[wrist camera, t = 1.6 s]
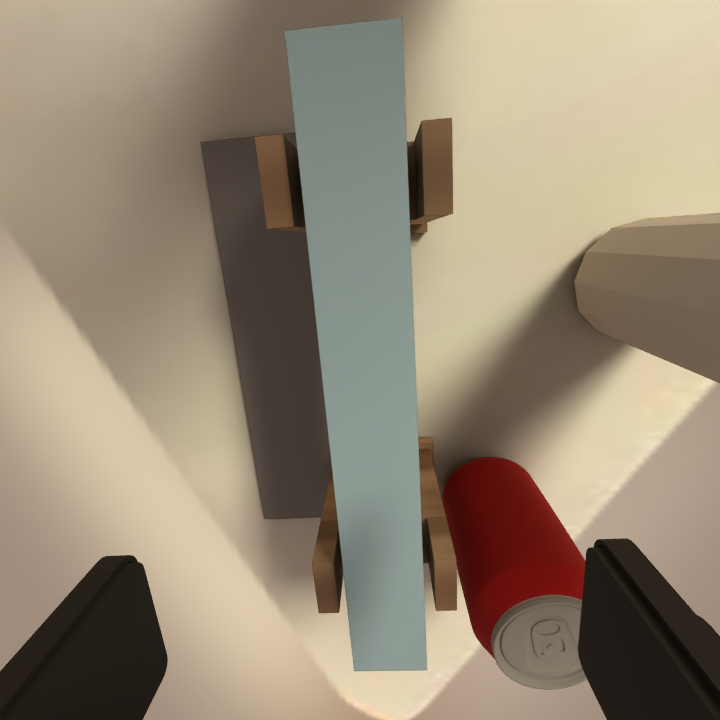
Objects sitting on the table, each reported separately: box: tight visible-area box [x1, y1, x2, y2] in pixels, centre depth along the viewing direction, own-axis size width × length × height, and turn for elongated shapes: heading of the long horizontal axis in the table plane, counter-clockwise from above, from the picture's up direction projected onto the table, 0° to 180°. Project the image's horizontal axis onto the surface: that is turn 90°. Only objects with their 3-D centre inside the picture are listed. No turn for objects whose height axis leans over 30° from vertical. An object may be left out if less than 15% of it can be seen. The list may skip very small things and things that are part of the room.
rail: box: [285, 18, 427, 671], centre depth 18 cm, size 26×4×4 cm, turn 4°
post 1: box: [255, 118, 453, 234], centre depth 19 cm, size 4×7×11 cm, turn 94°
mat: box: [201, 133, 332, 519], centre depth 27 cm, size 26×6×1 cm, turn 4°
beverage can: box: [443, 457, 587, 690], centre depth 24 cm, size 7×7×12 cm
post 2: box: [312, 437, 457, 613], centre depth 24 cm, size 4×7×11 cm, turn 94°
